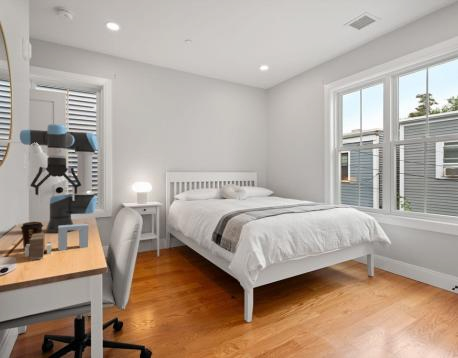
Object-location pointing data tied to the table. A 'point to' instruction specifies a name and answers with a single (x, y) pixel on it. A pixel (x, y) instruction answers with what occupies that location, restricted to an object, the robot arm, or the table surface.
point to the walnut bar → (37, 245)
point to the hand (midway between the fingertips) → (57, 201)
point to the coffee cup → (30, 231)
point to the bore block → (63, 229)
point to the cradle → (27, 253)
